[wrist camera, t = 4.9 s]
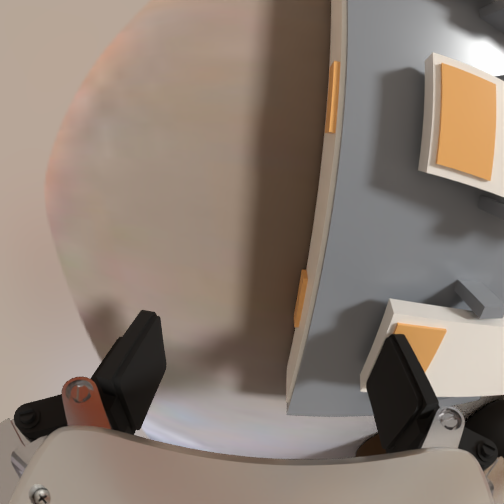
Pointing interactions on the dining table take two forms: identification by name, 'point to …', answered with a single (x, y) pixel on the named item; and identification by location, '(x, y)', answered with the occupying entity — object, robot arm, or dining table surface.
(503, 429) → the cola bottle
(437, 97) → the rocker mid
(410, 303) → the rocker
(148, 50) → the dining table surface
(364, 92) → the console
